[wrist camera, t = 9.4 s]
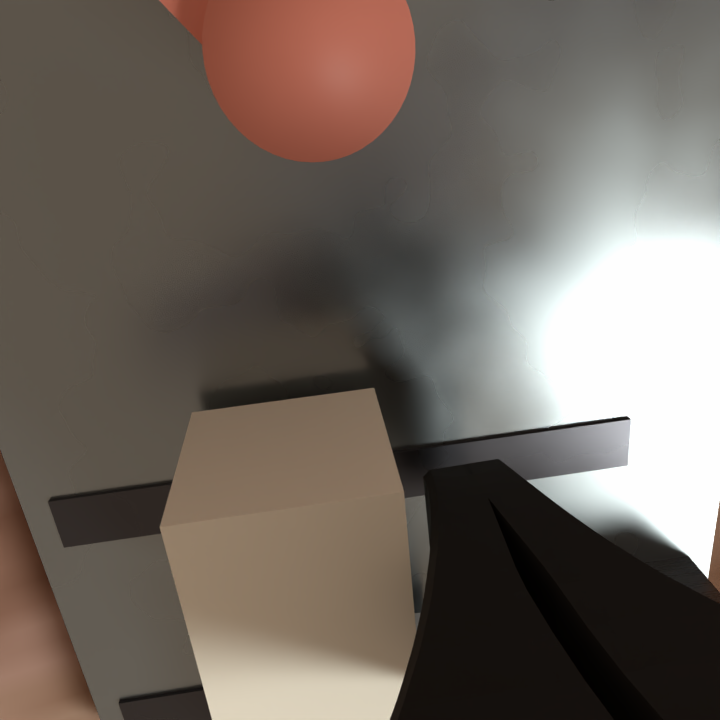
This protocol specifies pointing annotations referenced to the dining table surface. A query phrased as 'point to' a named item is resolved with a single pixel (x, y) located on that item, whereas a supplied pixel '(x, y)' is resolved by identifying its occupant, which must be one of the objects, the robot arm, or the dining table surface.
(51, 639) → the dining table surface
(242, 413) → the cream block
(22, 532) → the dining table surface
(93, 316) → the console
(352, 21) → the red lever
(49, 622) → the dining table surface
